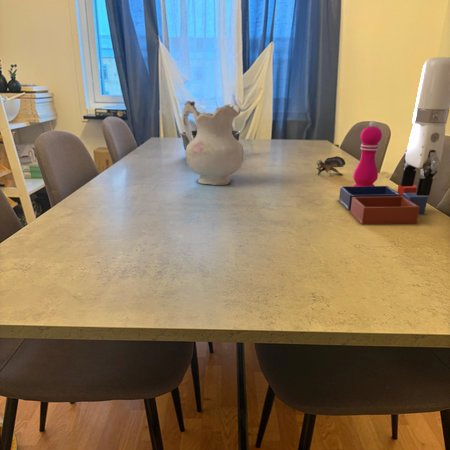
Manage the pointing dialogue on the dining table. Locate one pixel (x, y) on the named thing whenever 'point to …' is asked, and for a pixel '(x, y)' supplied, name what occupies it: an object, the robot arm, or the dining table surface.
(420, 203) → the blue block
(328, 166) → the brown insect figurine
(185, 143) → the bundt pan
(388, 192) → the blue bin
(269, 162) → the dining table surface
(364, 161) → the pepper mill
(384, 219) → the red bin
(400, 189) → the red block
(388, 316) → the dining table surface
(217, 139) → the ceramic pitcher
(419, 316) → the dining table surface
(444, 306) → the dining table surface
